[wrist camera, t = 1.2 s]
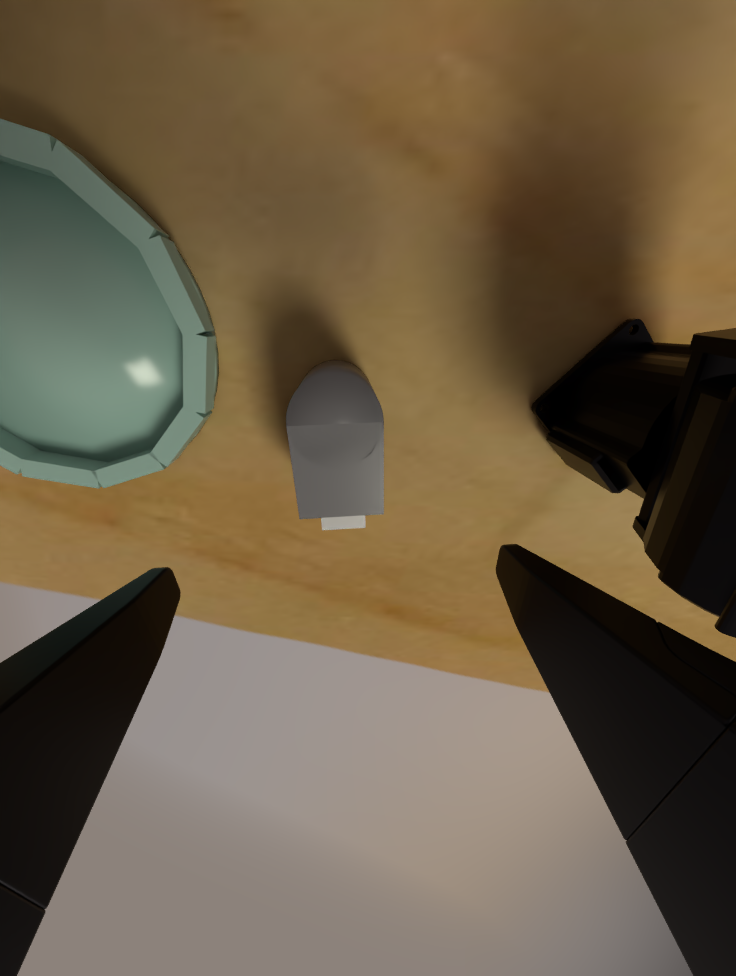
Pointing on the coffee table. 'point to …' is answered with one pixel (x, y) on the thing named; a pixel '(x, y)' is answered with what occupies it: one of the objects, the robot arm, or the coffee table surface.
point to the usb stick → (337, 446)
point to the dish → (92, 324)
